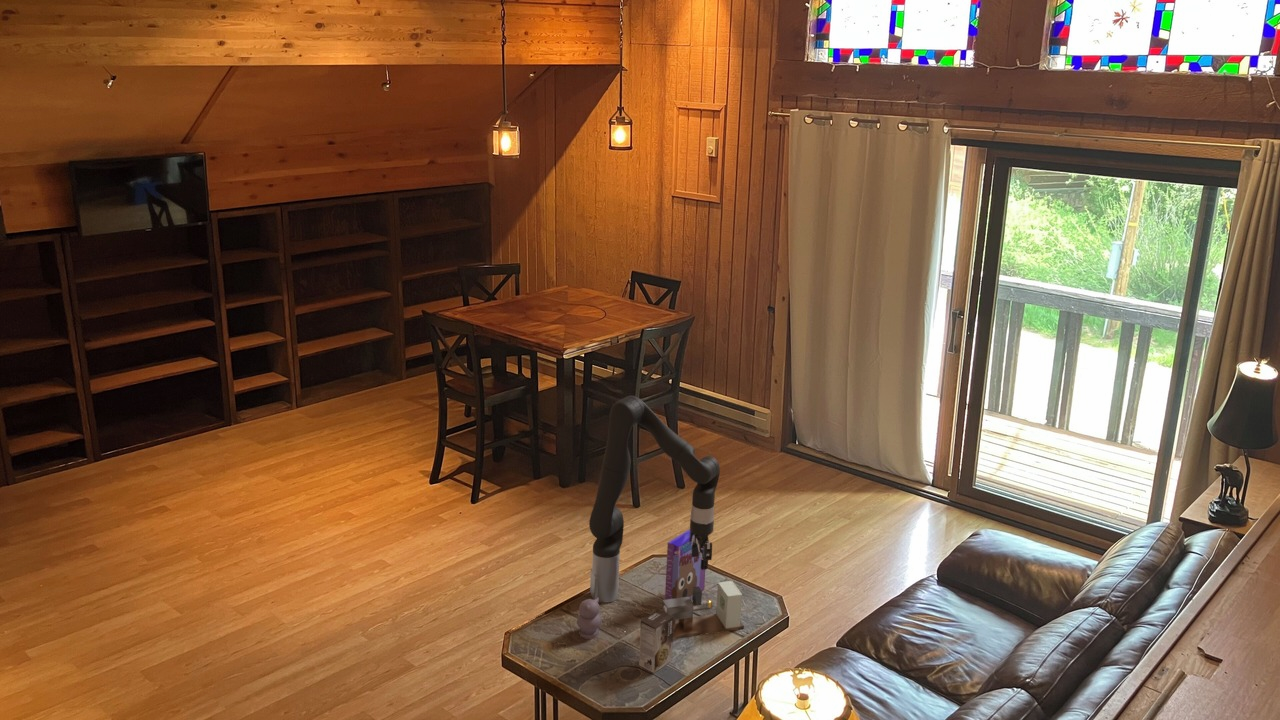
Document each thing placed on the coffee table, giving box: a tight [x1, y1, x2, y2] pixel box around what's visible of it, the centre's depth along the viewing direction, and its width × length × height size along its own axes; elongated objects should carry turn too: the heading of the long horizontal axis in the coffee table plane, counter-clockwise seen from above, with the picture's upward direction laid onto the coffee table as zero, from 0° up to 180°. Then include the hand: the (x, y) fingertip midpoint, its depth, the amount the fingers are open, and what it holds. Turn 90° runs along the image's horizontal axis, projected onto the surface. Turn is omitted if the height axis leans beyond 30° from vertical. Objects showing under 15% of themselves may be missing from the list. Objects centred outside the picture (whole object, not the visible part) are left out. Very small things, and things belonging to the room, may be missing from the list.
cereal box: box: [664, 528, 706, 600], centre depth 345 cm, size 17×5×24 cm, turn 143°
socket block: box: [715, 580, 743, 628], centre depth 332 cm, size 5×9×12 cm, turn 17°
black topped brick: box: [662, 586, 713, 613], centre depth 327 cm, size 16×3×8 cm, turn 107°
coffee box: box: [638, 608, 674, 674], centre depth 308 cm, size 9×6×16 cm
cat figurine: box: [576, 598, 603, 640], centre depth 323 cm, size 8×8×12 cm
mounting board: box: [661, 597, 745, 639], centre depth 330 cm, size 27×9×10 cm, turn 107°
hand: (699, 562), depth 324 cm, fingers open, 8 cm apart
